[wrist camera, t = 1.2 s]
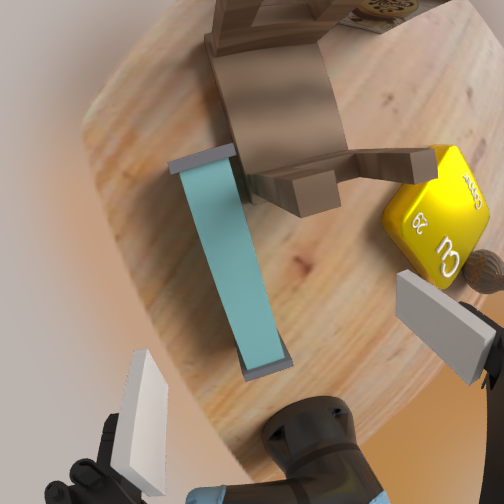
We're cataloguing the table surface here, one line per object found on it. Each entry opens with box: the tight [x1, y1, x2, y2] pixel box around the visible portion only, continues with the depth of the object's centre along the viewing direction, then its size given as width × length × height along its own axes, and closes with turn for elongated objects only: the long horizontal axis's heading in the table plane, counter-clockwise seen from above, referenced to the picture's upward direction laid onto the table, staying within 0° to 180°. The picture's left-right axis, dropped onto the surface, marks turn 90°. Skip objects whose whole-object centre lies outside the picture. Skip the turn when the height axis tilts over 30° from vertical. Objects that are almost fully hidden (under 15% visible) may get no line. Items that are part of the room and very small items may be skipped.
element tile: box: [382, 145, 490, 289], centre depth 32 cm, size 15×15×5 cm
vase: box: [464, 250, 504, 294], centre depth 34 cm, size 7×7×9 cm
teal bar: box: [168, 143, 294, 382], centre depth 28 cm, size 22×5×7 cm, turn 15°
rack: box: [204, 0, 439, 218], centre depth 20 cm, size 18×11×15 cm, turn 15°
